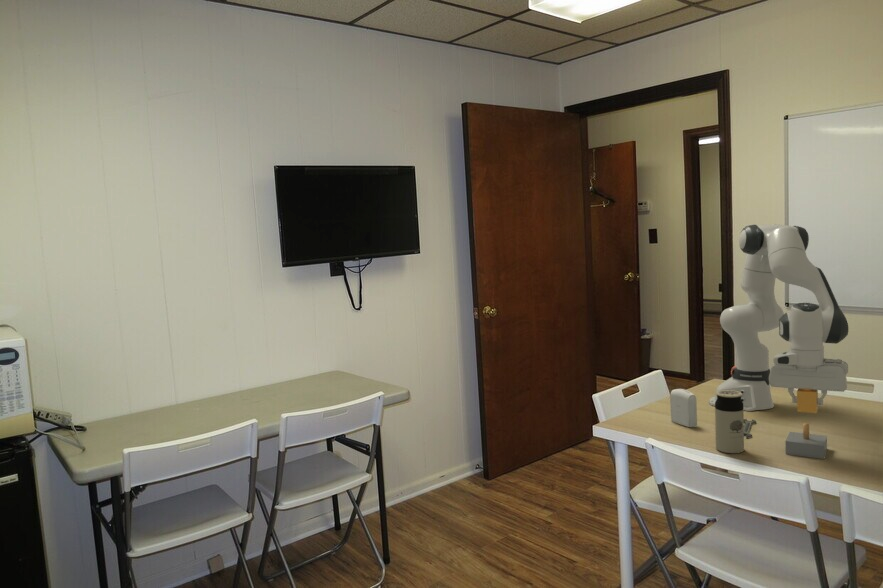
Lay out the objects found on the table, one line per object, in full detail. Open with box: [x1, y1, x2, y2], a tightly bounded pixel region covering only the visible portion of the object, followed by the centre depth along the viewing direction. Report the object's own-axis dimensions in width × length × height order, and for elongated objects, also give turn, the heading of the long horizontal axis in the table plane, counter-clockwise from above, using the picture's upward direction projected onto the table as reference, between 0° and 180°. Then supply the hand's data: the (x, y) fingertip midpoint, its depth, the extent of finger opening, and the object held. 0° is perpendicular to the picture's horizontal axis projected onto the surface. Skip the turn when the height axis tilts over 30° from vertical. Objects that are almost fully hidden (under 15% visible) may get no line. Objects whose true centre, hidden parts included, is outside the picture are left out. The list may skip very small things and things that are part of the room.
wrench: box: [744, 418, 757, 440], centre depth 216 cm, size 5×2×20 cm
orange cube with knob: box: [796, 389, 819, 414], centre depth 191 cm, size 5×5×7 cm
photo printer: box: [669, 388, 698, 428], centre depth 225 cm, size 10×4×12 cm, turn 20°
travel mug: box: [714, 390, 745, 454], centre depth 197 cm, size 8×8×18 cm
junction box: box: [785, 422, 828, 460], centre depth 193 cm, size 10×10×8 cm
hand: (807, 403), depth 191 cm, fingers closed on orange cube with knob, 5 cm apart
